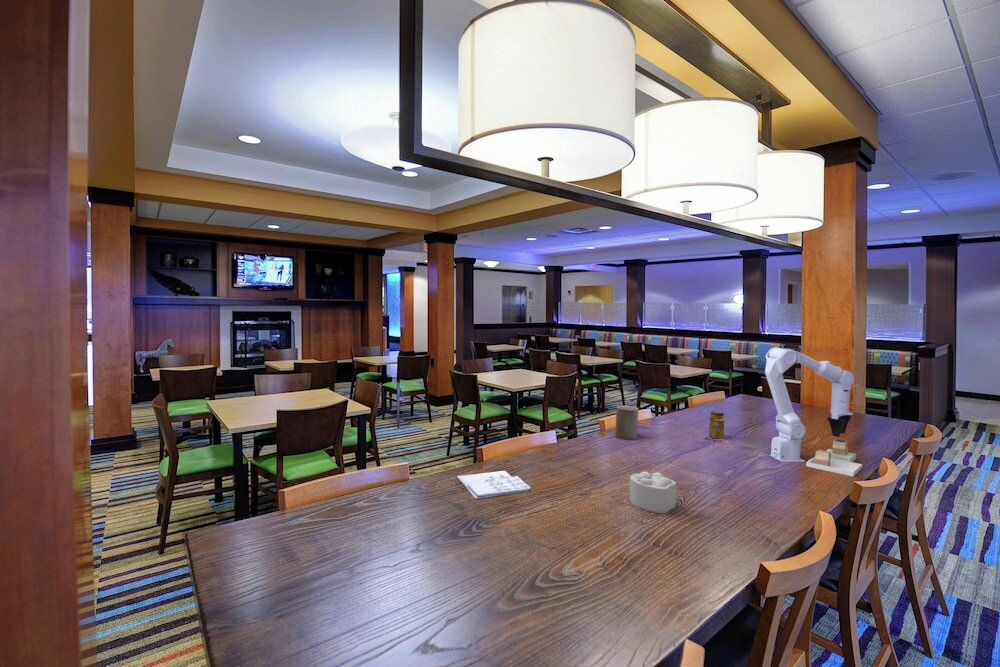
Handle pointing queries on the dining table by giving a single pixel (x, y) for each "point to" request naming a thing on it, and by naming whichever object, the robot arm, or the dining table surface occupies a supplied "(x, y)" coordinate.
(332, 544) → the dining table surface
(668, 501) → the lumpy-topped squat cylinder
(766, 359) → the robot arm
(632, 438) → the pillar candle
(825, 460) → the plain block
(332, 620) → the dining table surface
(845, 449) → the labelled block
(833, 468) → the parts tray
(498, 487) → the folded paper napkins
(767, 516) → the dining table surface
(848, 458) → the sage stand
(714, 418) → the condiment
